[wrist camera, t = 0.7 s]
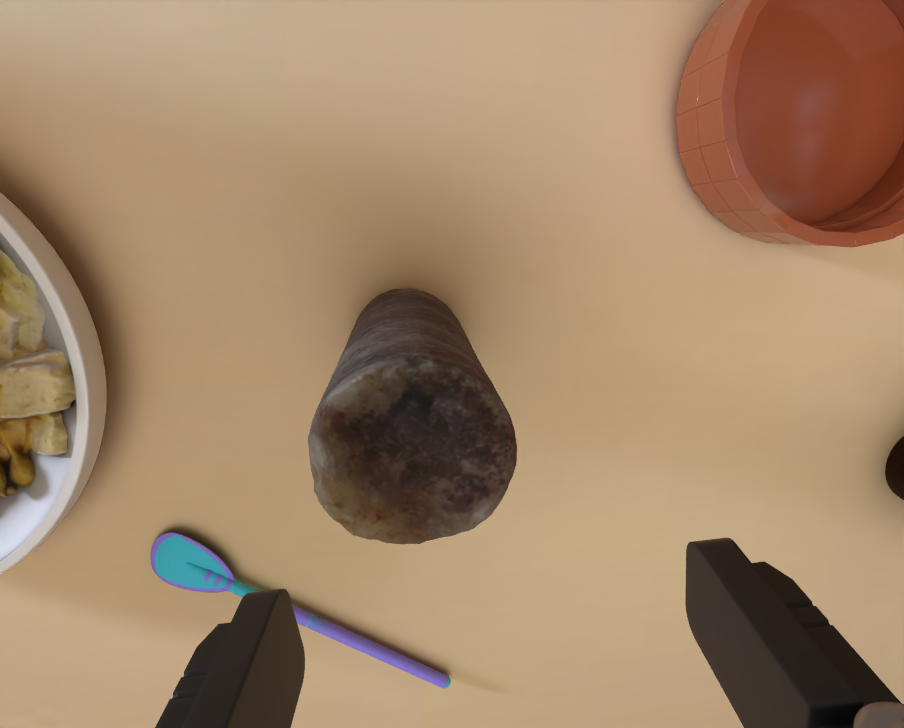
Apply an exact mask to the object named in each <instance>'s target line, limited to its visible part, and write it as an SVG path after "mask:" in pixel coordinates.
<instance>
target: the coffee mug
mask: <svg viewBox="0 0 904 728" xmlns="http://www.w3.org/2000/svg"><path fill="white" fill-rule="evenodd" d="M886 480H887V483H888V485H889V487H890V488H891V490H892V491H893V492H894V493H895V494H896V495H897V496H899V497H900V498H901V499H903V500H904V437H903V438H902V439H901V440H900V441H899V442H898V443H897V444H896V445H895V447H894V448H893V450H892V451H891V453H890V455H889V457H888V460H887V464H886Z"/></svg>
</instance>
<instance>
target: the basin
mask: <svg viewBox="0 0 904 728" xmlns="http://www.w3.org/2000/svg"><path fill="white" fill-rule="evenodd" d="M676 125H677V136H678V147H679V153H680V156H681V159H682V162H683V165H684V168H685V170H686V173H687V176H688V179H689V182H690V184H691V185H692V188H693V189H694V191H695V192H696V194H697V195H698V196H699V198H700V199H701V201H702V202H703V203H704V205H705V206H706V208H707V209H708V210H709V212H711V214H713V215H714V216H715V217H717V218H718V219H719V220H720V221H722V222H723V223H724V224H726V225H727V226H728V227H730V228H731V229H732V230H733V231H736V232H737V233H740V234H743V235H745V236H748V237H751V238H753V239H756V240H759V241H761V242H765V243H780V244H796V245H817V246H838V247H858V246H862V245H867V244H872V243H876V242H881V241H886V240H890V239H893V238H895V237H897V236H899V235H901V234H903V233H904V0H726V1H725V2H724V3H723V4H722V5H721V6H720V7H719V8H718V9H717V11H716V12H715V14H714V15H713V17H712V18H711V19H710V21H709V22H708V24H707V25H706V27H705V28H704V30H703V31H702V33H701V34H700V36H699V37H698V39H697V41H696V42H695V45H694V47H693V50H692V52H691V55H690V58H689V60H688V63H687V65H686V68H685V70H684V73H683V75H682V79H681V86H680V93H679V100H678V106H677V113H676Z"/></svg>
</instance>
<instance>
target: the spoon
mask: <svg viewBox="0 0 904 728" xmlns="http://www.w3.org/2000/svg"><path fill="white" fill-rule="evenodd" d="M151 564H152V567H153V570H154V571H155V573H156V574H157V575H158V577H159V578H161V579H162V580H163V581H165V582H167V583H169V584H171V585H174V586H177V587H180V588H184V589H188V590H193V591H199V592H223V591H230V592H232V593H234V594H237V595H239V596H241V597H244V595H245V594H247V593H251V592H260V591H258V590H256V589H254V588H251V587H249V586H247V585H245V584H243V583H240V582H238V581H236V580H235V579H234V576H233V574H232V572H231V570H230V569H229V567H228V566H227V565H226V564H225V563H224V562H223V560H221V559H220V558H219V557H218V556H217V555H216V554H215V553H214V552H212V551H211V550H210V549H208V548H207V547H205V546H204V545H202V544H200V543H199V542H197V541H195V540H193V539H191V538H189V537H187V536H184V535H182V534H179V533H165V534H163V535H161V536H160V537H158V538H157V539H156V541H155V542H154V544H153V547H152V550H151ZM292 607H293V611H294V614H295V618H296V621H297V623H299V624H301V625H303V626H305V627H306V626H307V627H308V628H310V629H313V630H314V631H317V632H319V633H321V634H323V635H326V636H328V637H330V638H332V639H334V640H337V641H339V642H341V643H343V644H346V645H348V646H350V647H352V648H354V649H357V650H359V651H361V652H363V653H366V654H368V655H370V656H372V657H375V658H377V659H379V660H381V661H383V662H386V663H388V664H390V665H392V666H395V667H397V668H399V669H401V670H404V671H406V672H408V673H410V674H412V675H415V676H417V677H419V678H421V679H424V680H426V681H428V682H430V683H432V684H435V685H437V686H439V687H441V688H447V687H449V685H450V678H449V677H448V676H447V675H445V674H443V673H441V672H438V671H436V670H434V669H432V668H430V667H427V666H425V665H423V664H421V663H419V662H416V661H414V660H412V659H410V658H408V657H405V656H403V655H401V654H399V653H397V652H394V651H392V650H390V649H388V648H386V647H383V646H381V645H379V644H377V643H375V642H372V641H370V640H368V639H366V638H364V637H361V636H359V635H357V634H355V633H353V632H350V631H348V630H346V629H344V628H342V627H339V626H337V625H335V624H333V623H331V622H328V621H326V620H324V619H322V618H320V617H317V616H315V615H312V614H311V613H309V612H306V611H304V610H302V609H300V608H298V607H295V606H293V605H292Z"/></svg>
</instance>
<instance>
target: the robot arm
mask: <svg viewBox="0 0 904 728" xmlns="http://www.w3.org/2000/svg"><path fill="white" fill-rule="evenodd" d="M686 612H687V617H688V621H689V625H690V628H691V630H692V633H693V635H694V638H695V640H696V641H697V643H698V645H699V647H700V649H701V650H702V652H703V654H704V656H705V658H706V660H707V661H708V663H709V665H710V667H711V669H712V670H713V672H714V674H715V676H716V678H717V679H718V681H719V683H720V685H721V687H722V688H723V690H724V692H725V694H726V696H727V697H728V699H729V701H730V703H731V705H732V706H733V708H734V710H735V712H736V714H737V715H738V717H739V719H740V721H741V723H742V724H743V726H744V728H904V704H902V703H901V702H900V701H899V700H898V699H897V698H896V697H895V696H894V694H893V693H892V692H891V691H890V690H889V689H888V688H887V687H886V685H885V684H884V683H883V682H882V681H881V680H880V679H879V677H878V676H877V675H876V674H875V673H874V672H873V671H872V669H871V668H870V667H869V666H868V665H867V664H866V663H865V662H864V660H863V659H862V658H861V657H860V656H859V655H858V654H857V652H856V651H855V650H854V649H853V648H852V647H851V646H850V644H849V643H848V642H847V641H846V640H845V639H844V638H843V636H842V635H841V634H840V633H839V632H838V631H837V630H836V629H835V627H834V626H833V625H830V624H829V622H828V619H827V618H826V617H825V616H824V615H823V614H822V613H821V611H820V610H819V609H818V608H817V607H816V606H813V605H812V601H811V600H810V599H809V598H808V597H807V596H806V594H805V593H804V592H803V591H802V590H801V589H800V588H799V586H798V585H797V584H796V583H795V582H794V581H793V580H792V579H791V578H789V577H788V576H786V575H785V574H783V573H782V572H780V571H779V570H777V569H775V568H774V567H772V566H771V565H769V564H768V563H766V562H758V563H751V562H750V561H749V559H748V558H747V557H746V556H745V554H744V553H743V552H742V551H741V549H740V548H739V547H738V546H737V544H736V543H735V542H734V541H733V540H732V539H730V538H720V539H711V540H703V541H695V542H689V543H688V545H687V551H686ZM304 670H305V655H304V647H303V643H302V640H301V636H300V632H299V629H298V625H297V621H296V618H295V614H294V611H293V607H292V603H291V600H290V596H289V594H288V592H287V590H285V589H277V590H268V591H260V592H251V593H247V594H245V595H244V597H243V598H242V600H241V602H240V604H239V606H238V608H237V611H236V613H235V615H234V617H233V619H232V621H231V623H224V624H218V625H217V626H216V627H215V629H214V630H213V631H212V632H211V633H210V634H209V635H208V636H207V637H206V638H205V639H204V640H203V641H202V642H201V643H200V644H199V645H198V646H197V648H196V650H195V652H194V654H193V656H192V658H191V660H190V662H189V663H188V665H187V667H186V669H185V671H184V677H181V679H180V681H179V683H178V685H177V687H176V689H175V690H174V692H173V698H172V699H170V700H169V702H168V704H167V706H166V708H165V710H164V712H163V714H162V716H161V717H160V719H159V721H158V723H157V725H156V727H155V728H290V727H291V724H292V720H293V716H294V713H295V709H296V705H297V702H298V698H299V694H300V691H301V687H302V683H303V678H304Z"/></svg>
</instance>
